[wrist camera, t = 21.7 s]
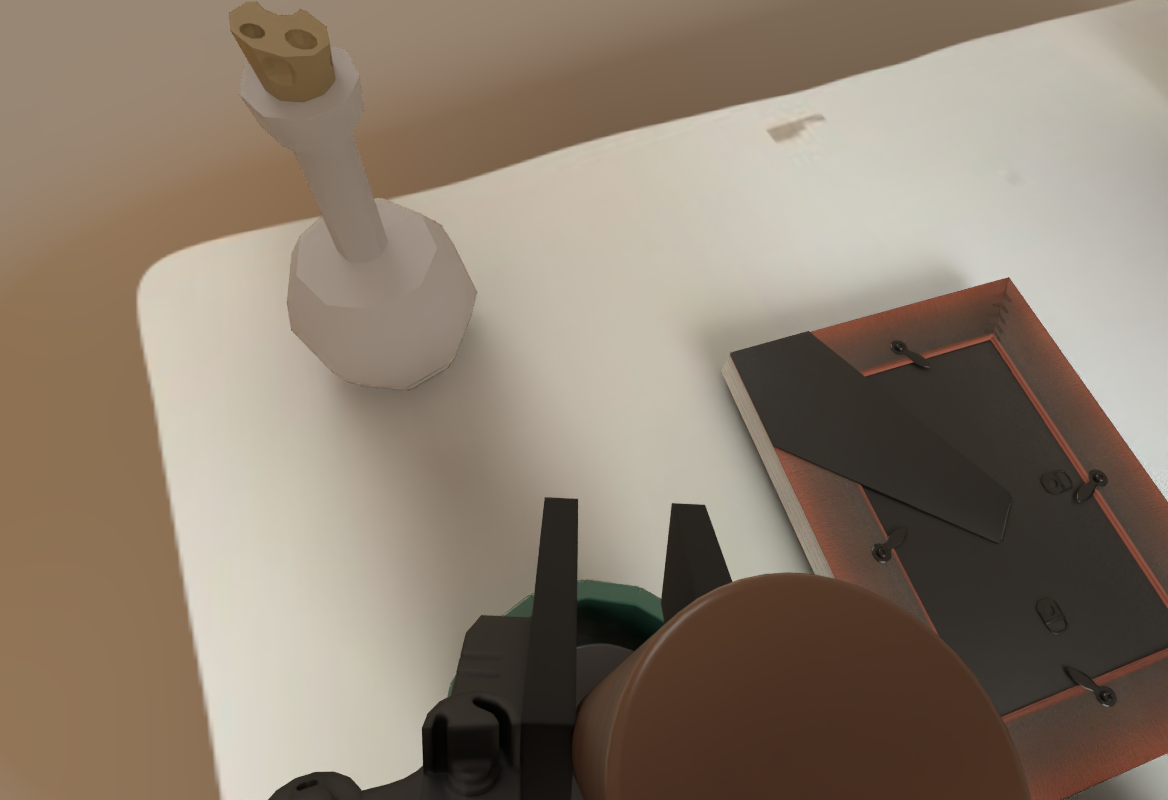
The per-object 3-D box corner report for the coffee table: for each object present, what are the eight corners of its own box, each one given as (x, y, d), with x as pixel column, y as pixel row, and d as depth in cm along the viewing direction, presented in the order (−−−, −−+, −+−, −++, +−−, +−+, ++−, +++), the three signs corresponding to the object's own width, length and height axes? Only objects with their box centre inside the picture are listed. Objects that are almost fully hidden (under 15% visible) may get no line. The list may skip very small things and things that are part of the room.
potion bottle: (302, 284, 37) (113, -56, 21) (463, 253, 39) (403, -88, 22) (321, 427, 34) (111, 152, 18) (498, 387, 35) (455, 98, 19)
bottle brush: (695, 748, 23) (1535, 888, 3) (579, 857, 22) (861, 2226, 2) (603, 626, 25) (809, 234, 5) (489, 720, 23) (134, 694, 4)
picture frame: (718, 375, 36) (928, 835, 27) (729, 351, 34) (963, 845, 25) (985, 300, 39) (1251, 695, 30) (1012, 274, 36) (1308, 693, 28)
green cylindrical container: (730, 754, 28) (814, 768, 19) (560, 917, 26) (567, 1020, 17) (598, 583, 31) (618, 525, 22) (433, 714, 29) (379, 709, 19)
